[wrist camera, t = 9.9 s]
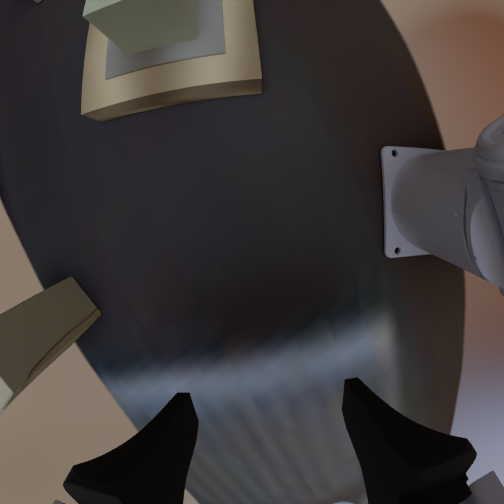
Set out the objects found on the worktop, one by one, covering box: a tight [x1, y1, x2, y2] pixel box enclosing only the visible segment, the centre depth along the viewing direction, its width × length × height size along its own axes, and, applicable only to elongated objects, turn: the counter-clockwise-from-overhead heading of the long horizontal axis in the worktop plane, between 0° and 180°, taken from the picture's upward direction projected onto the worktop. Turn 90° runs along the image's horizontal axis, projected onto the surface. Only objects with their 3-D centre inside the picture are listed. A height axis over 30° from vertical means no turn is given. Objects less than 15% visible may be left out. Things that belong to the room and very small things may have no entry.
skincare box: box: [0, 277, 101, 414], centre depth 16 cm, size 6×4×12 cm
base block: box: [81, 0, 262, 122], centre depth 15 cm, size 12×12×3 cm
